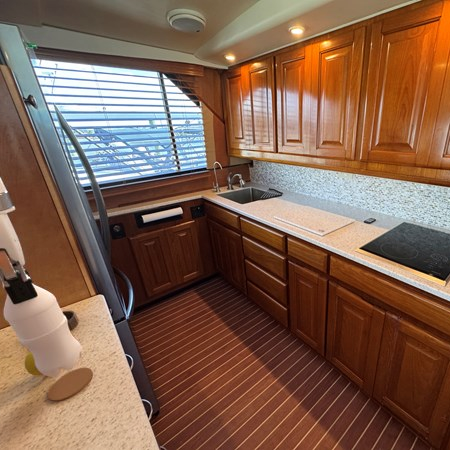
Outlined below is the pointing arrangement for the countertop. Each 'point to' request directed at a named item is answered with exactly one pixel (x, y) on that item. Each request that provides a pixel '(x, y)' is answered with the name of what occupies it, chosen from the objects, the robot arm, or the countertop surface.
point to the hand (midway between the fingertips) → (24, 294)
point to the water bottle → (44, 332)
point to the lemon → (31, 365)
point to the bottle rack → (71, 319)
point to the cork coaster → (70, 384)
